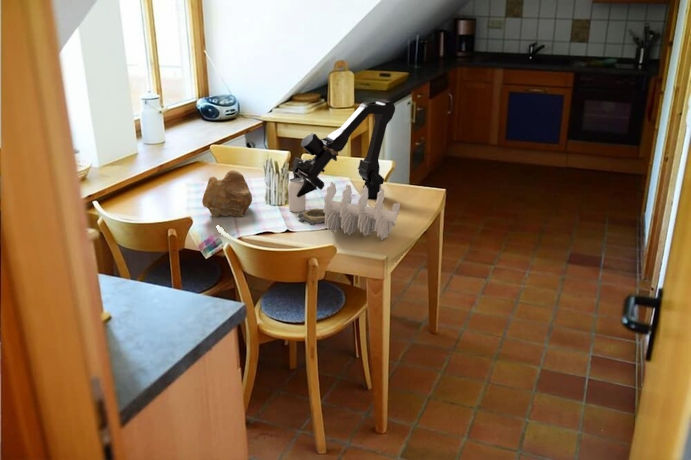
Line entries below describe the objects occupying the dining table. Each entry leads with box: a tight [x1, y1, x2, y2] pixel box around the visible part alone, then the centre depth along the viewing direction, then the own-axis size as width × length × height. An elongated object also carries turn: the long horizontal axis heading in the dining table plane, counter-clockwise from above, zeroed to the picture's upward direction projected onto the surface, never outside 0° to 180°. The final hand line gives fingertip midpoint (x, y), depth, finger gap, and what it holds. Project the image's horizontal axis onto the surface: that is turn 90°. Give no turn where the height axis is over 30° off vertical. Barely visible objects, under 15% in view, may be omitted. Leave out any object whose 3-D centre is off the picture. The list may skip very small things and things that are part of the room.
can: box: [287, 177, 307, 213], centre depth 249 cm, size 6×6×12 cm
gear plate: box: [298, 207, 326, 226], centre depth 242 cm, size 14×14×2 cm
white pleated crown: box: [323, 181, 401, 241], centre depth 224 cm, size 18×18×25 cm
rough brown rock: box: [202, 170, 253, 218], centre depth 246 cm, size 23×17×15 cm
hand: (293, 194), depth 248 cm, fingers closed on can, 6 cm apart
